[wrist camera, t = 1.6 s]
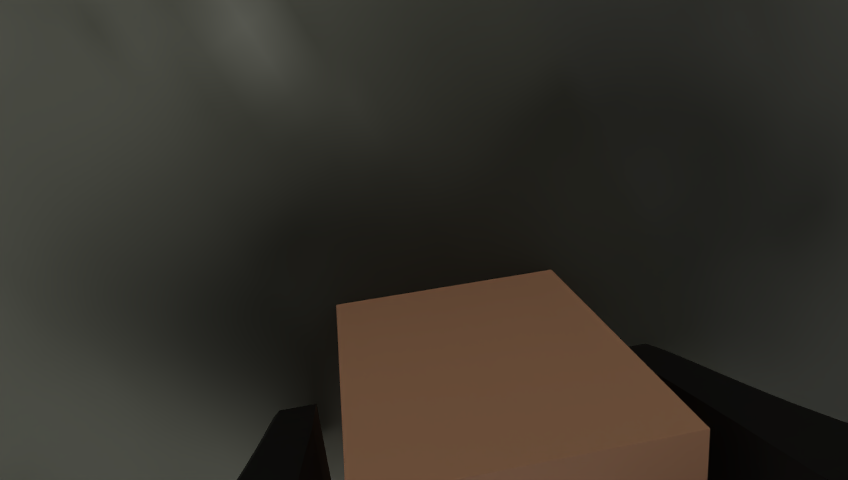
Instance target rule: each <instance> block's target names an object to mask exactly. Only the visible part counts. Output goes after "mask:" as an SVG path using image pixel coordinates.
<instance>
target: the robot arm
mask: <svg viewBox="0 0 848 480" xmlns="http://www.w3.org/2000/svg"><path fill="white" fill-rule="evenodd" d="M629 348H630V349H631V350H632V351H633V352H634V353H635V354H636V355H637V356H638V357H639V358H640V359H641V360H642V361H643V362H644V363H645V364H646V365H647V366H648V367H649V368H650V369H651V370H652V371H653V372H654V373H655V374H656V375H657V376H658V377H659V378H660V379H661V380H662V381H663V382H664V383H665V384H666V385H667V386H668V387H669V388H670V389H671V390H672V391H673V392H674V393H675V394H676V395H677V396H678V397H679V398H680V399H681V400H682V401H683V402H684V403H685V404H686V405H687V406H688V407H689V408H690V409H691V410H692V411H693V412H694V413H695V414H696V415H697V416H698V417H699V418H700V419H701V420H702V421H703V422H704V423H705V424H706V425H707V426H708V427H709V428H710V440H709V459H708V478H707V480H848V423H846V422H843V421H840V420H837V419H834V418H831V417H829V416H826V415H823V414H821V413H818V412H815V411H812V410H810V409H807V408H804V407H801V406H799V405H796V404H793V403H791V402H788V401H786V400H783V399H781V398H778V397H775V396H773V395H770V394H768V393H765V392H763V391H761V390H758V389H756V388H753V387H751V386H748V385H746V384H744V383H741V382H739V381H736V380H734V379H732V378H729V377H727V376H725V375H722V374H720V373H718V372H715V371H713V370H711V369H708V368H706V367H704V366H701V365H699V364H697V363H694V362H692V361H689V360H687V359H685V358H682V357H680V356H677V355H675V354H673V353H670V352H668V351H665V350H662V349H660V348H657V347H654V346H651V345H648V344H642V345H637V346H631V347H629ZM237 480H331V477H330V472H329V467H328V462H327V456H326V451H325V446H324V441H323V436H322V431H321V425H320V420H319V415H318V410H317V405H316V404H314V405H308V406H303V407H297V408H292V409H286V410H281V411H279V412H278V413H277V414H276V415H275V417H274V418H273V420H272V422H271V423H270V425H269V427H268V429H267V431H266V432H265V434H264V436H263V438H262V439H261V441H260V443H259V445H258V446H257V448H256V450H255V451H254V453H253V455H252V456H251V458H250V460H249V461H248V463H247V465H246V466H245V468H244V470H243V471H242V473H241V474H240V476H239V477H238V479H237Z"/></svg>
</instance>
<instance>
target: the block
mask: <svg viewBox="0 0 848 480" xmlns="http://www.w3.org/2000/svg"><path fill="white" fill-rule="evenodd" d="M336 311H337V332H338V352H339V372H340V393H341V413H342V433H343V454H344V474H345V480H707V478H708V459H709V440H710V428H709V427H708V426H707V425H706V424H705V423H704V422H703V421H702V420H701V419H700V418H699V417H698V416H697V415H696V414H695V413H694V412H693V411H692V410H691V409H690V408H689V407H688V406H687V405H686V404H685V403H684V402H683V401H682V400H681V399H680V398H679V397H678V396H677V395H676V394H675V393H674V392H673V391H672V390H671V389H670V388H669V387H668V386H667V385H666V384H665V383H664V382H663V381H662V380H661V379H660V378H659V377H658V376H657V375H656V374H655V373H654V372H653V371H652V370H651V369H650V368H649V367H648V366H647V365H646V364H645V363H644V362H643V361H642V360H641V359H640V358H639V357H638V356H637V355H636V354H635V353H634V352H633V351H632V350H631V349H630V348H629V347H628V346H627V345H626V344H625V343H624V342H623V341H622V340H621V339H620V338H619V337H618V336H617V335H616V334H615V333H614V332H613V331H612V330H611V329H610V328H609V327H608V326H607V325H606V324H605V323H604V322H603V321H602V320H601V319H600V318H599V317H598V316H597V315H596V314H595V313H594V312H593V311H592V310H591V309H590V308H589V307H588V306H587V305H586V304H585V303H584V302H583V301H582V300H581V299H580V298H579V297H578V296H577V295H576V294H575V293H574V292H573V291H572V290H571V289H570V288H569V287H568V286H567V285H566V284H565V283H564V282H563V281H562V280H561V279H560V278H559V277H558V276H557V275H556V274H555V273H554V272H553V271H552V270H545V271H539V272H533V273H527V274H521V275H515V276H509V277H503V278H497V279H491V280H485V281H478V282H472V283H466V284H460V285H454V286H448V287H442V288H436V289H430V290H424V291H418V292H411V293H405V294H399V295H393V296H387V297H381V298H375V299H369V300H363V301H357V302H350V303H344V304H338V305H336Z"/></svg>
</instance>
